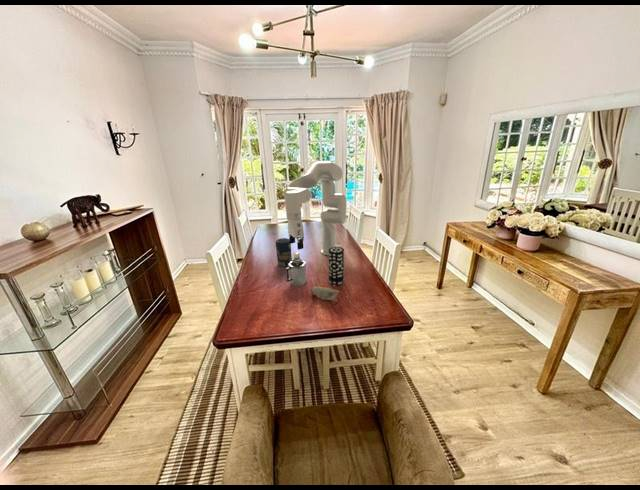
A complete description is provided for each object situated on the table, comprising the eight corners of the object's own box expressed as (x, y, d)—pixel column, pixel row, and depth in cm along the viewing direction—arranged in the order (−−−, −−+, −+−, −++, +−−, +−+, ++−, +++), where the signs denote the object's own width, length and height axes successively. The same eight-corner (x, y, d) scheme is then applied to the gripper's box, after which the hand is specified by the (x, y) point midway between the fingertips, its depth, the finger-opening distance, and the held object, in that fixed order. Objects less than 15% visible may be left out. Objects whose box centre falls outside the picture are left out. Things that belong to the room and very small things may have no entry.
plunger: (300, 275, 146) (298, 250, 140) (304, 279, 141) (303, 253, 135) (291, 277, 143) (289, 252, 137) (295, 282, 138) (294, 256, 133)
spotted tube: (345, 279, 144) (345, 247, 137) (341, 287, 137) (341, 253, 129) (331, 277, 147) (331, 246, 139) (327, 284, 139) (326, 252, 132)
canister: (289, 267, 160) (287, 241, 153) (275, 267, 162) (272, 241, 155) (294, 261, 169) (292, 236, 162) (280, 260, 170) (278, 235, 164)
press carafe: (301, 276, 149) (300, 258, 144) (309, 283, 141) (308, 264, 137) (284, 282, 143) (282, 263, 139) (290, 289, 136) (289, 269, 132)
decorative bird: (315, 292, 133) (314, 280, 130) (342, 301, 125) (342, 288, 122) (309, 297, 128) (308, 285, 126) (336, 307, 120) (336, 294, 118)
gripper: (308, 218, 123) (310, 249, 130) (293, 210, 137) (295, 239, 144) (294, 221, 120) (297, 253, 126) (280, 213, 133) (283, 242, 140)
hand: (296, 245), depth 135 cm, fingers open, 9 cm apart
